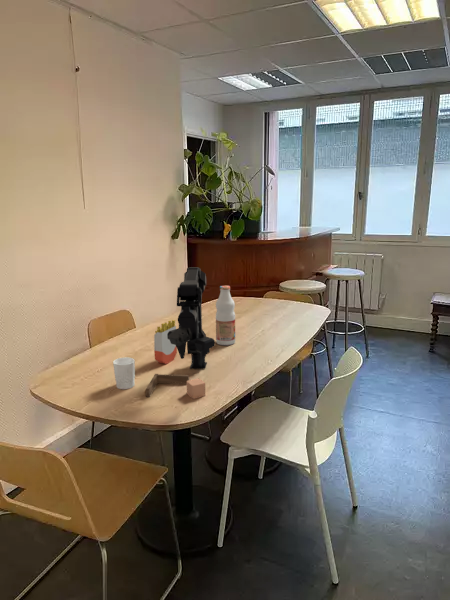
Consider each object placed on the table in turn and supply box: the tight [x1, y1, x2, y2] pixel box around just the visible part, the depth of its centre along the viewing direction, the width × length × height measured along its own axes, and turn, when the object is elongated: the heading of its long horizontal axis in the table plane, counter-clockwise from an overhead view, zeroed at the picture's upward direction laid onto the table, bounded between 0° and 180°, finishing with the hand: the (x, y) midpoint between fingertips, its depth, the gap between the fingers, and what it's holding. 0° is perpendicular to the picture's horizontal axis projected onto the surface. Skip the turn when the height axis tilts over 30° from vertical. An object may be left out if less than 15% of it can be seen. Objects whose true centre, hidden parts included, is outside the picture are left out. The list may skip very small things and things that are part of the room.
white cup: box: [112, 356, 136, 390], centre depth 167 cm, size 8×8×10 cm
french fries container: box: [153, 319, 178, 365], centre depth 191 cm, size 5×11×18 cm, turn 153°
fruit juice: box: [215, 285, 236, 346], centre depth 213 cm, size 9×9×28 cm
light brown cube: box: [186, 377, 206, 400], centre depth 160 cm, size 5×5×5 cm
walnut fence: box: [145, 373, 190, 398], centre depth 165 cm, size 14×13×3 cm
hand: (191, 361), depth 157 cm, fingers open, 9 cm apart
